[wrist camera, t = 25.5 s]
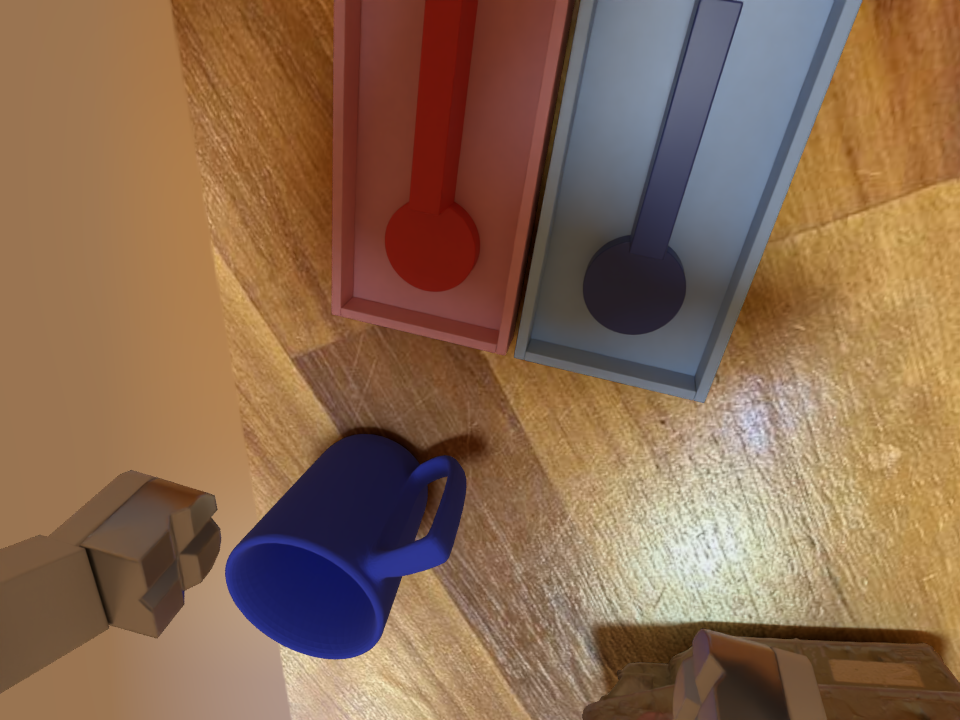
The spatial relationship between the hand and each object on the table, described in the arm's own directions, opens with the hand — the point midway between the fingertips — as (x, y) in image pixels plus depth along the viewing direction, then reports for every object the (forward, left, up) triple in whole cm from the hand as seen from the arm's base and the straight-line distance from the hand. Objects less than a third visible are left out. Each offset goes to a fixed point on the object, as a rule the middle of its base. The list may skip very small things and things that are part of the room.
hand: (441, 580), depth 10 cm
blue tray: (+3, +3, -20) cm, 21 cm away
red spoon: (-6, +2, -20) cm, 21 cm away
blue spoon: (+3, +2, -20) cm, 20 cm away
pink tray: (-6, +3, -20) cm, 22 cm away
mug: (-7, -16, -21) cm, 27 cm away
